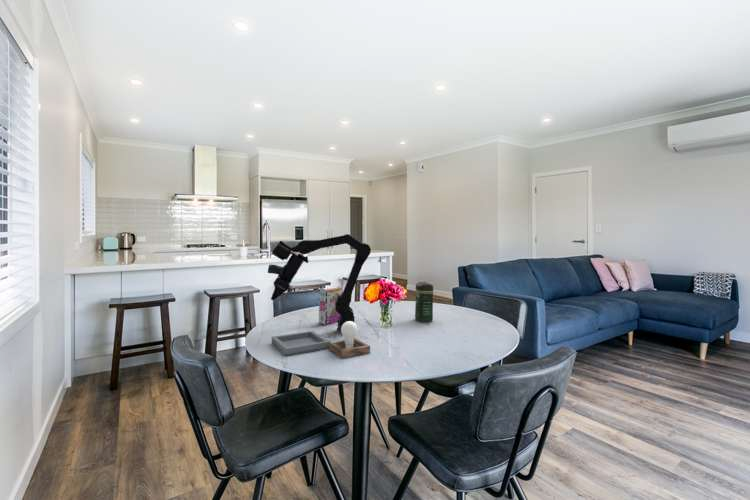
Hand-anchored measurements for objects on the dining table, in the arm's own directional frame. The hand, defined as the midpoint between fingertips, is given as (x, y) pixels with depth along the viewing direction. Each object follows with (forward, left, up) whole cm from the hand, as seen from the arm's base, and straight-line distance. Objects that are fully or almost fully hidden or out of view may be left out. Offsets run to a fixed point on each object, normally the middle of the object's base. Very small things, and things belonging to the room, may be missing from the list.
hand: (273, 297), depth 161 cm
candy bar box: (-28, -2, -15) cm, 32 cm away
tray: (-3, +24, -15) cm, 28 cm away
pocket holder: (-16, +39, -15) cm, 44 cm away
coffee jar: (-69, +17, -15) cm, 73 cm away
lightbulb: (-16, +39, -15) cm, 44 cm away
